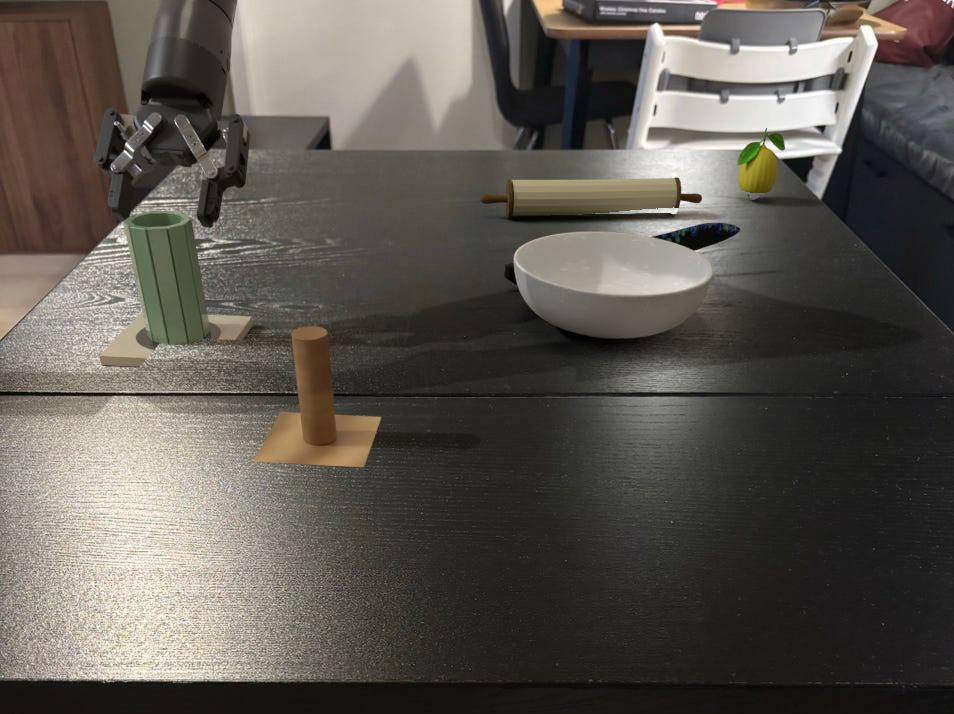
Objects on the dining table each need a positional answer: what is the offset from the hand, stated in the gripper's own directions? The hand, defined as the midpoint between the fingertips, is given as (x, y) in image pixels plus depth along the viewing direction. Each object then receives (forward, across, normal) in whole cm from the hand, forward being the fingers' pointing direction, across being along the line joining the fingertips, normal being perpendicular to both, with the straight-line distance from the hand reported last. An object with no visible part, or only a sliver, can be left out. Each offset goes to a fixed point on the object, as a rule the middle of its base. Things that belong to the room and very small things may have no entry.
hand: (161, 220), depth 89 cm
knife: (-13, +44, +29) cm, 54 cm away
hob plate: (+9, 0, +8) cm, 12 cm away
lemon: (-41, +62, +58) cm, 94 cm away
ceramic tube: (+8, 0, +7) cm, 11 cm away
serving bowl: (-1, +43, +18) cm, 47 cm away
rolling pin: (-31, +38, +48) cm, 69 cm away
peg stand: (+23, +21, -6) cm, 31 cm away
